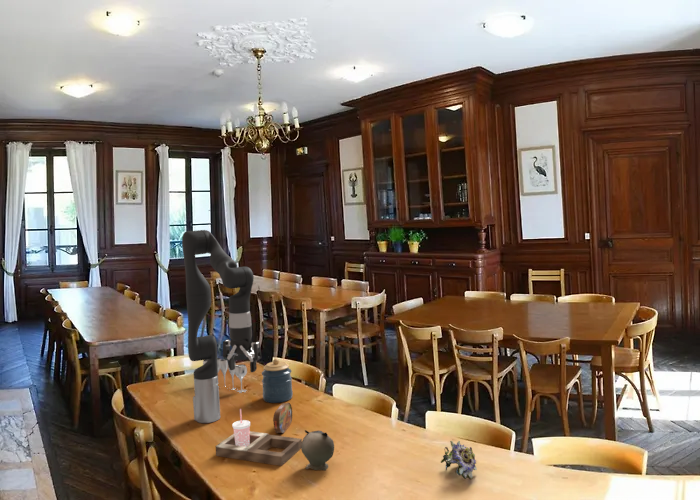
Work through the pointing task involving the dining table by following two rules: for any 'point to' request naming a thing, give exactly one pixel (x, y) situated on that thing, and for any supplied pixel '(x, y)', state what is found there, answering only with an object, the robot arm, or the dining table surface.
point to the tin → (282, 418)
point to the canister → (277, 382)
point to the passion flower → (461, 459)
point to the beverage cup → (242, 432)
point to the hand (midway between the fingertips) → (242, 370)
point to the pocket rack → (260, 448)
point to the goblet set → (231, 371)
